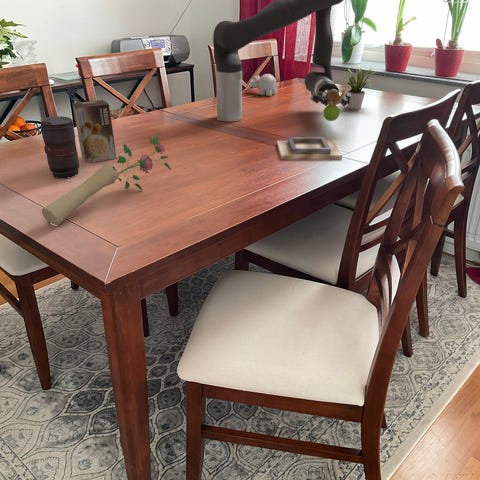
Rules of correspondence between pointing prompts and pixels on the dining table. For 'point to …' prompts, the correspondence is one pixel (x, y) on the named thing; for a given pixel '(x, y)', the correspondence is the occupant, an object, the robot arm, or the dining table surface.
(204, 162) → the dining table surface
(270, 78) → the round bodied animal figurine
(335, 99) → the snail figurine
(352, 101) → the house plant
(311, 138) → the board
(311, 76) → the robot arm
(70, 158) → the camera lens
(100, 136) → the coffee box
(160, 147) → the flower vase
